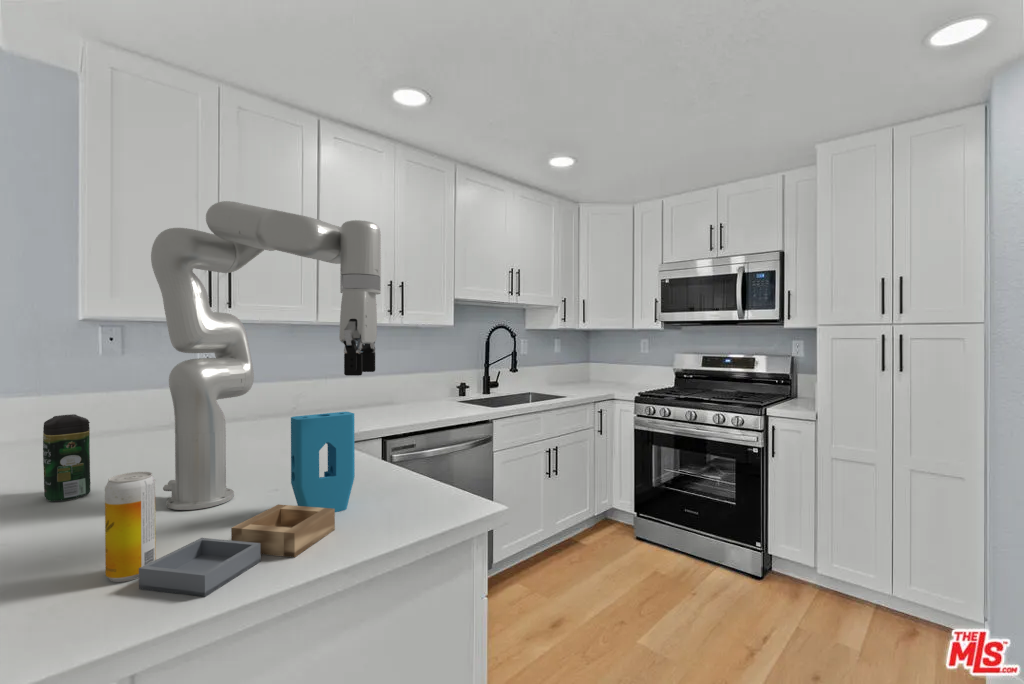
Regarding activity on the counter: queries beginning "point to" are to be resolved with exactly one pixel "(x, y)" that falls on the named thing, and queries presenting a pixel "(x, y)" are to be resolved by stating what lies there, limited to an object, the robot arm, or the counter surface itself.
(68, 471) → the coffee jar
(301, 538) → the shallow wooden box
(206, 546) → the tray
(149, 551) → the beer can
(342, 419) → the block
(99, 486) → the counter surface
